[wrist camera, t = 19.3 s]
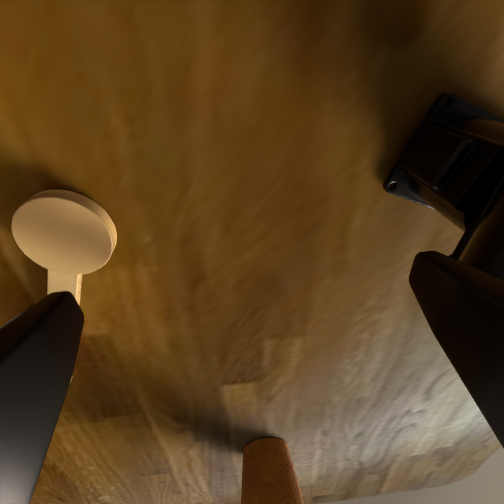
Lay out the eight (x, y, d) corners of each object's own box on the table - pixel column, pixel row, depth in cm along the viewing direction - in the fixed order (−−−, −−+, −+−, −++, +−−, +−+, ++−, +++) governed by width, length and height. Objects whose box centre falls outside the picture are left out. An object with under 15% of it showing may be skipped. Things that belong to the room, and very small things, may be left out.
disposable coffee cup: (238, 467, 45) (244, 584, 36) (225, 438, 40) (228, 567, 30) (300, 456, 45) (323, 569, 36) (296, 426, 40) (322, 550, 30)
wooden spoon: (94, 381, 30) (90, 392, 29) (26, 373, 29) (19, 385, 28) (122, 204, 20) (118, 213, 19) (19, 176, 18) (8, 184, 17)
